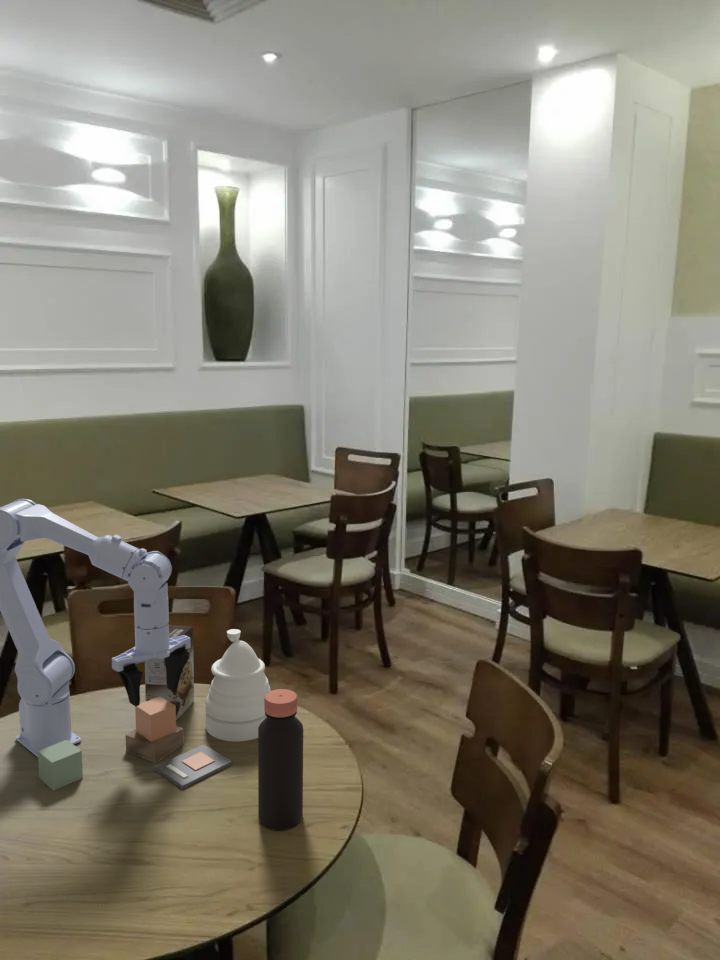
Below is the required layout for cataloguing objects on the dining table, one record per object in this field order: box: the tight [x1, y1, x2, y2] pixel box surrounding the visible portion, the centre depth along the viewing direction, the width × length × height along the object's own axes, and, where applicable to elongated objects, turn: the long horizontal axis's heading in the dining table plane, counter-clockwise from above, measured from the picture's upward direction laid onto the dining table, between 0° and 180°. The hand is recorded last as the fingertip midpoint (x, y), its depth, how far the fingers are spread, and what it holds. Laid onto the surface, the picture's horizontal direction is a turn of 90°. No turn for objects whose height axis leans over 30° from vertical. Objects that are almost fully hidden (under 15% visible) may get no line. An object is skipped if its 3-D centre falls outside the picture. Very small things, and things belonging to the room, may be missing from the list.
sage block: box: [37, 740, 84, 791], centre depth 123 cm, size 5×5×5 cm
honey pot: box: [204, 628, 272, 742], centre depth 141 cm, size 13×13×18 cm
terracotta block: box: [134, 697, 177, 742], centre depth 133 cm, size 5×5×5 cm
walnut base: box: [125, 725, 184, 763], centre depth 133 cm, size 7×7×4 cm
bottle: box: [257, 688, 304, 831], centre depth 113 cm, size 7×7×20 cm
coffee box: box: [144, 624, 195, 721], centre depth 146 cm, size 9×6×16 cm
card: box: [154, 743, 232, 790], centre depth 128 cm, size 8×10×1 cm
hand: (153, 696), depth 132 cm, fingers open, 7 cm apart
